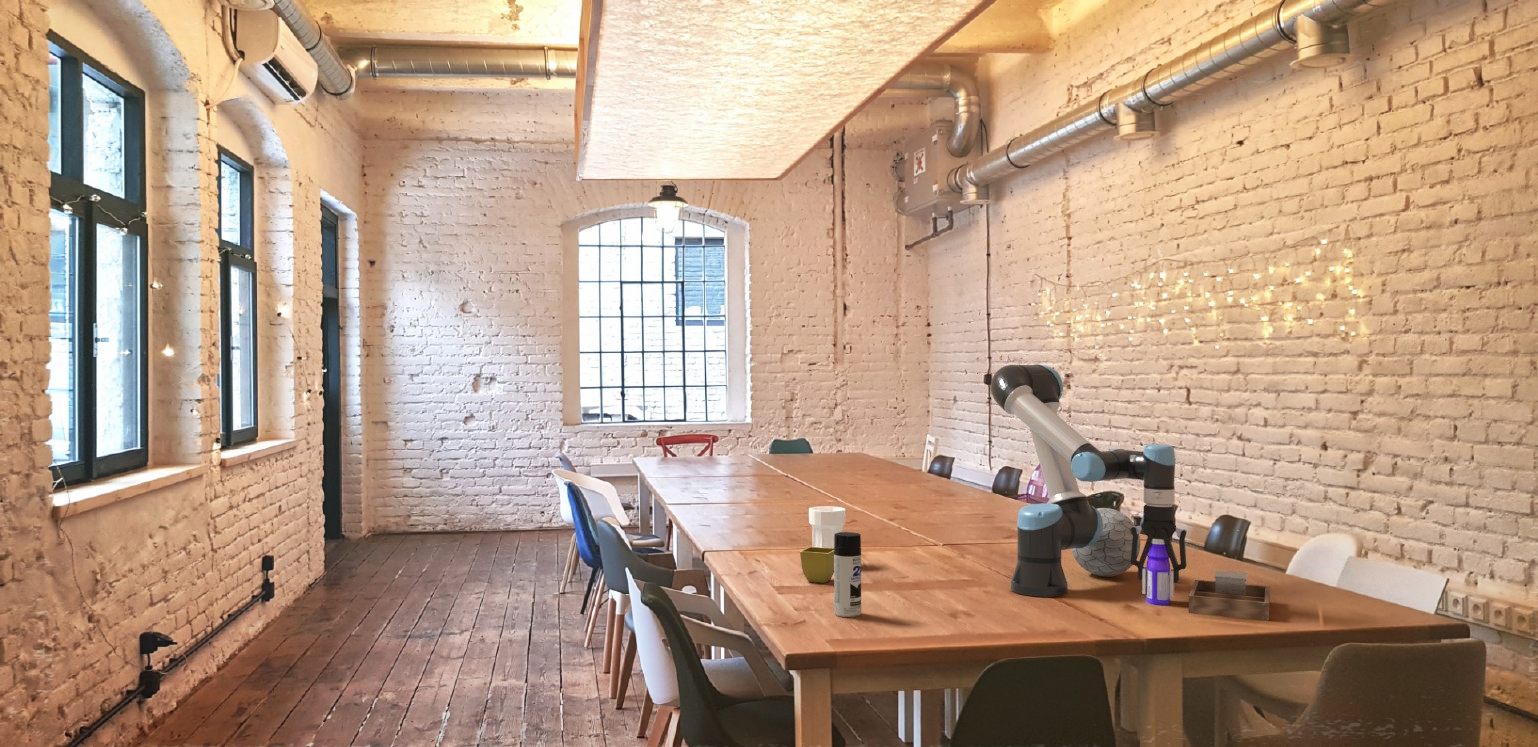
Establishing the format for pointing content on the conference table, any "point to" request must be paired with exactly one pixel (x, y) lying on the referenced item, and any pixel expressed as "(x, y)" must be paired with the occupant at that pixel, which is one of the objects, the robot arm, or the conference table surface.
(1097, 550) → the decorative sphere
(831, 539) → the cup
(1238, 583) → the block
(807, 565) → the flower pot
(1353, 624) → the conference table surface
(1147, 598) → the bottle
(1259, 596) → the crate
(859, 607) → the spray can
